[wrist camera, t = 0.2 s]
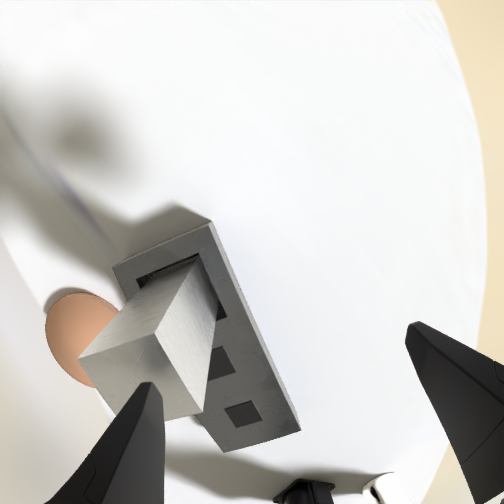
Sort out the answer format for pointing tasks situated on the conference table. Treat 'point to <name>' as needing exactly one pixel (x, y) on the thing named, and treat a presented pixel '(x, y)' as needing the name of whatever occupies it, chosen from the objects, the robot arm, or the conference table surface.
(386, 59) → the conference table surface
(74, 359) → the terracotta coaster
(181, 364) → the steel peg
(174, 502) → the conference table surface
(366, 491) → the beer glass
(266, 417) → the rack rail
